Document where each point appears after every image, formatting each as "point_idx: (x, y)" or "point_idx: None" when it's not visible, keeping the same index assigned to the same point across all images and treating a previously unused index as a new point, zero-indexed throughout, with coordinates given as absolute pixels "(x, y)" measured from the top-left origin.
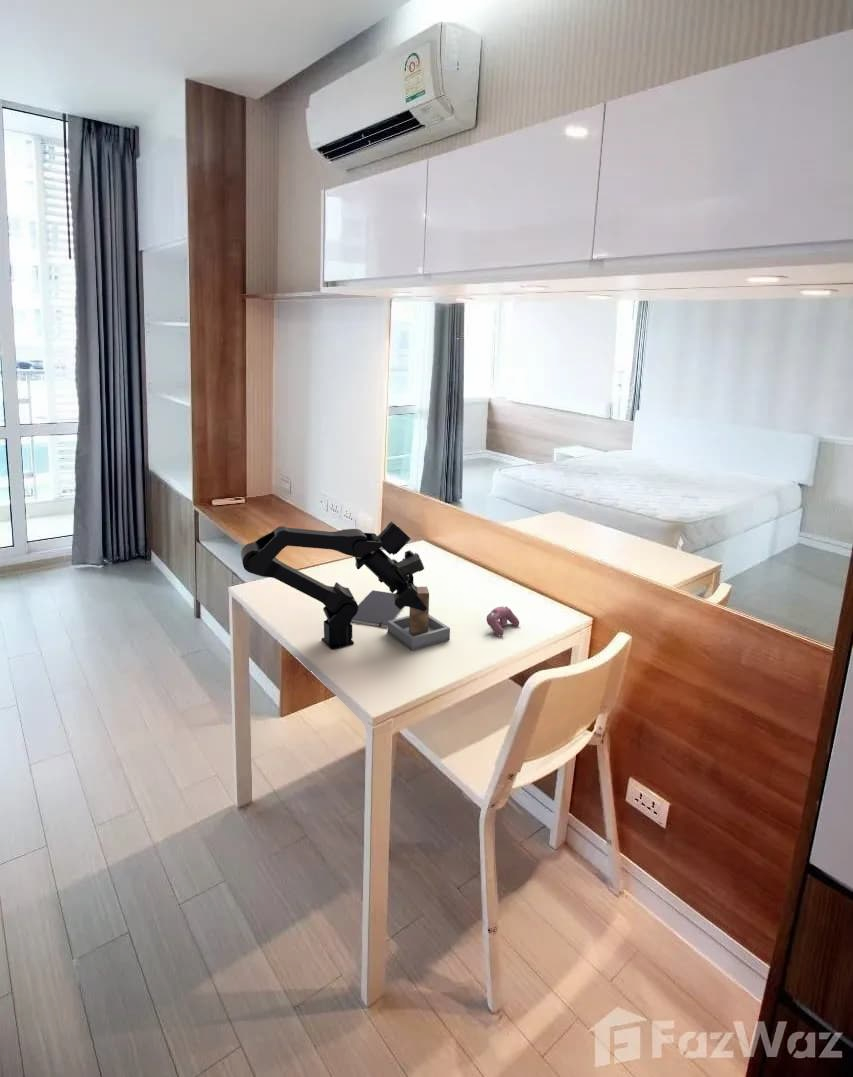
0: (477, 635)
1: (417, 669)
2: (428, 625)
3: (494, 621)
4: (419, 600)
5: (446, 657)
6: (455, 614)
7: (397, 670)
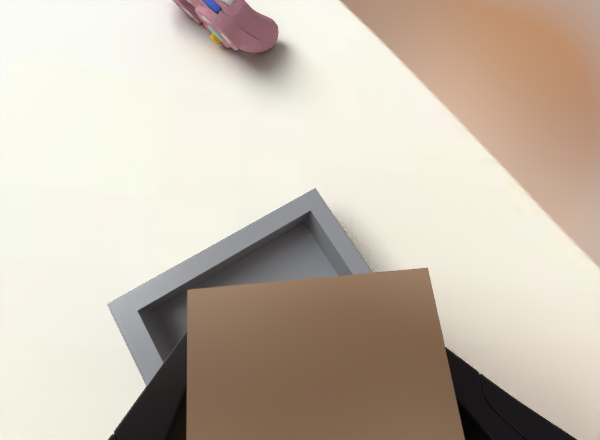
0: (267, 109)
1: (533, 340)
2: (198, 285)
3: (254, 16)
4: (494, 391)
5: (435, 232)
6: (60, 155)
7: (559, 421)
